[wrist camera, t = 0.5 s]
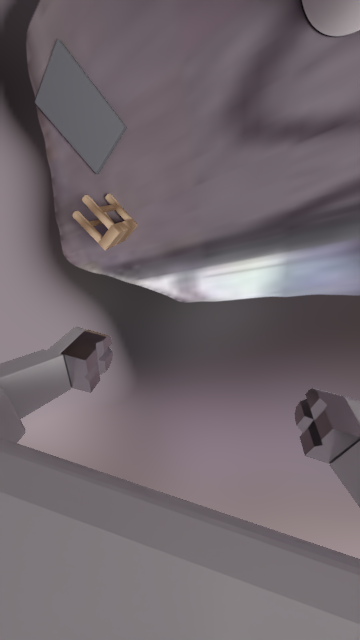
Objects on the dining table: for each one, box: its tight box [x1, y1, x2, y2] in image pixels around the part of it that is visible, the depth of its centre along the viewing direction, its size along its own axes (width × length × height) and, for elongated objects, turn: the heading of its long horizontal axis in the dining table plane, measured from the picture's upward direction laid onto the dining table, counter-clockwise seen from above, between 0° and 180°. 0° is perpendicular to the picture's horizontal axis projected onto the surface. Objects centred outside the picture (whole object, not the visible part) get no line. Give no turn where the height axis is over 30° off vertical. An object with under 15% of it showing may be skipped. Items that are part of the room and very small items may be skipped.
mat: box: [35, 39, 127, 174], centre depth 41 cm, size 16×11×1 cm
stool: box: [72, 194, 138, 250], centre depth 46 cm, size 9×6×10 cm, turn 42°
